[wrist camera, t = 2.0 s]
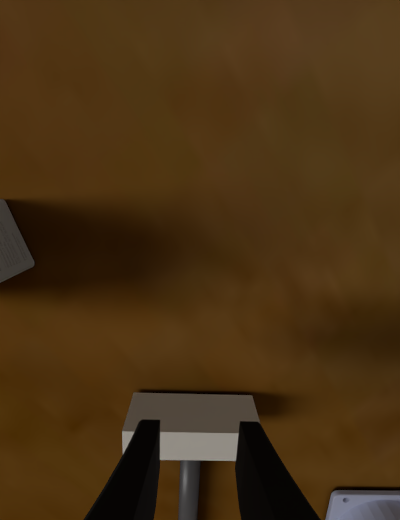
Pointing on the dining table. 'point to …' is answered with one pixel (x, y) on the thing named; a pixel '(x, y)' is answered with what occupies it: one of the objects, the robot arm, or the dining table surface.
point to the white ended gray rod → (192, 433)
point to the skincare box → (12, 246)
